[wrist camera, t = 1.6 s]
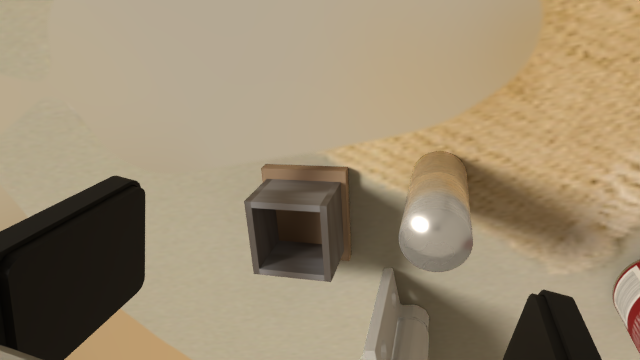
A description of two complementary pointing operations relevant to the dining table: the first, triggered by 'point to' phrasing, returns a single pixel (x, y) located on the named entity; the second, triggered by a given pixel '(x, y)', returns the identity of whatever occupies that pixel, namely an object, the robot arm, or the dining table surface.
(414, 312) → the hinge
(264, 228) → the open cube shadow box
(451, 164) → the hinge pin
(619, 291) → the soda can
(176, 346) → the dining table surface
